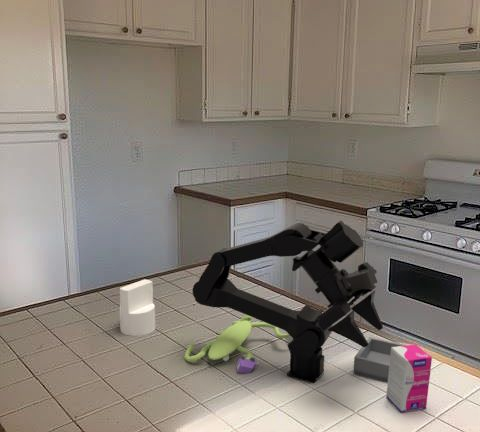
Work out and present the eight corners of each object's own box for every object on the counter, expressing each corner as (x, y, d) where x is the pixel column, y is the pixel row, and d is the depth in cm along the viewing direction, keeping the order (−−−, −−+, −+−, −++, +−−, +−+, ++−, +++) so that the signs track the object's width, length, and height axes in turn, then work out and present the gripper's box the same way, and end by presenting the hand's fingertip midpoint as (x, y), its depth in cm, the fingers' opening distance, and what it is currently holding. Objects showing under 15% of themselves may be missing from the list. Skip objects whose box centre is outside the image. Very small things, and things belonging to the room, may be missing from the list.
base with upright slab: (136, 339, 135) (135, 293, 133) (113, 329, 141) (110, 285, 138) (162, 327, 142) (161, 283, 140) (139, 318, 148) (137, 276, 145)
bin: (353, 373, 120) (354, 357, 119) (368, 352, 129) (369, 336, 129) (407, 387, 114) (408, 370, 113) (418, 364, 124) (419, 348, 123)
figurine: (305, 343, 135) (306, 322, 133) (236, 386, 115) (236, 362, 113) (247, 323, 146) (248, 303, 145) (175, 359, 126) (175, 337, 125)
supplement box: (401, 414, 105) (405, 360, 102) (385, 397, 110) (389, 346, 108) (427, 409, 106) (432, 356, 104) (410, 394, 112) (415, 342, 109)
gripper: (335, 265, 101) (390, 335, 97) (369, 242, 116) (417, 301, 113) (296, 297, 106) (346, 363, 103) (332, 271, 122) (377, 328, 119)
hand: (374, 337), depth 109 cm, fingers open, 9 cm apart
